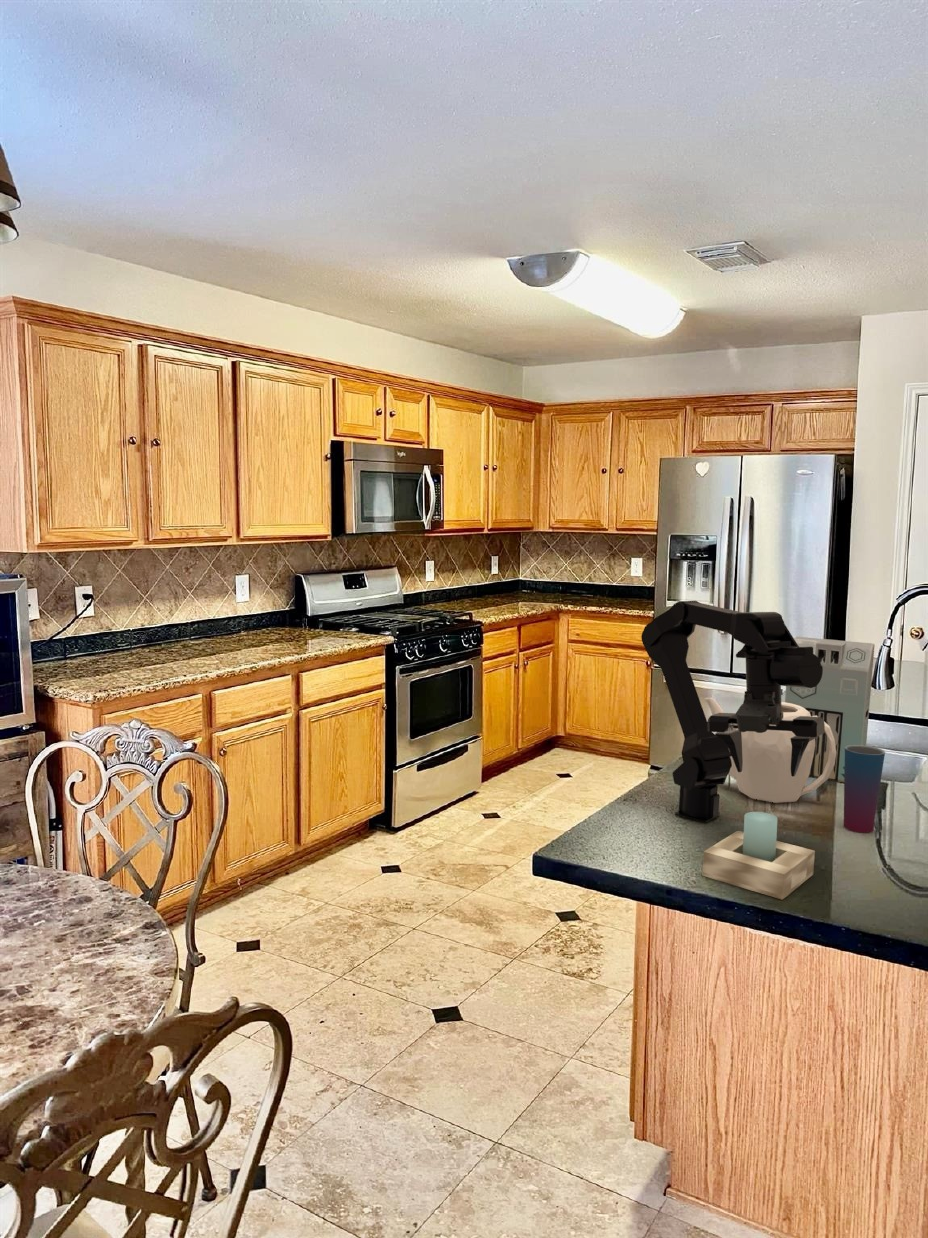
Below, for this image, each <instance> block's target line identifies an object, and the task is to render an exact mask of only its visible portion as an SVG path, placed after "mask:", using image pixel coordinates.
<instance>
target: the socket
mask: <svg viewBox="0 0 928 1238" xmlns="http://www.w3.org/2000/svg"><path fill="white" fill-rule="evenodd" d="M743 836H744V831H742V830H741V831H740V830H737V831H735V832H733V833H732V834H730V835H729V836H727V837H725V838H724V839H721V840H720V841H719V842H717V843H716V844H714V845H712V846H711V847H709V848H707V849H705V850H703V853H702V854H703V855H702V856H703V859H702V872H701V876H703V877H706V878H709V879H712V880H715V881H719V882H722V883H725V884H729V885H731V886H734V887H740V888H742V889H745V890H748V891H752V892H756V893H759V894H762V895H765V896H769V897H773V898H775V899H777V900H778V899H779V900H781V901H783V900H784V899H785V898H786V897H788V896H789V895H790V894H792V893H793V892H794V891H795V890H796V889H798V888H799V887H800V886H801V885H802V884H803V883H805V882H806V881H807V880H808V879H809V878H811V877H812V876H814V869H815V867H814V866H815V854H816V851H815V850H814V849H809V848H806V847H803V846H798V845H793V844H790V843H786V842H783V841H779V840H776V855H775V860H774V861H773V862H768V861H765V860H761V859H758V858H754V857H750V856H747V855H743Z"/></svg>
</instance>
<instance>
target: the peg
mask: <svg viewBox="0 0 928 1238" xmlns="http://www.w3.org/2000/svg"><path fill="white" fill-rule="evenodd" d="M743 819H744V821H743V822H744V823H743V832H744V836H743V855H747V856H750V857H754V858H758V859H761V860H765V861H768V862H773V861H774V860H775V855H776V841H777V835H778V832H777V831H778V817H777V816H776V815H774V814H771V813H768V812H762V811H749V812H746V813H744V817H743Z"/></svg>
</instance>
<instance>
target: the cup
mask: <svg viewBox="0 0 928 1238" xmlns="http://www.w3.org/2000/svg"><path fill="white" fill-rule="evenodd" d="M885 755H886V751H885V750H884V749H882V748H879V747H875V746H871V745H867V744H866V745H848V746H845V766H844V783H843V828H845V829H846V830H848V831H851V832H854V833H855V832H856V833H859V834H869V833H873V831H874V825H875V819H876V812H877V806H878V801H879V793H880V789H881V788H880V787H881V782H882V774H883V770H884V769H883V768H884V761H885Z"/></svg>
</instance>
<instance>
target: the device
mask: <svg viewBox="0 0 928 1238" xmlns="http://www.w3.org/2000/svg"><path fill="white" fill-rule="evenodd" d="M793 638H794V640H795V641H796V643H797V645H798V646H799V647H813V654H814V655H816V656H817V657H818V658H819V660H820V662H821V666H822V667H823V674H822V678H821V680H820V682H819V684H818V685H817V686H816V687H813V688H802V687H790V686H785V694H784V695H785V696H784V702H786V703H792V704H795V705H799V706H801V707H803V708H805V709H806V710H807V711H808V712H810V715H811V716H818V717H821V718H822V719H823V721H824V722H825V723H826V724H828V725H829V726H830V728H831V731H832V734H833V737H834V740H835V747H836V758H835V765H834V767H833V769H832V771H831V773H830V775H829V777H828V779H827V780H826V781H831V782H832V781H833V782H836V783H837V782H838V783H843V784H844V766H845V746H848V745H866V746H867V739H868V728H869V727H868V726H869V716H870V706H871V705H870V704H871V694H872V679H873V669H874V668H873V667H874V658H875V657H874V656H875V646H876V645H875V643H871V642H870V643H869V642H859V641H852V640H851V641H850V640H849V641H847V640H838V639H829V638H828V639H827V638H815V637H807V636H806V637H805V636H795V637H793ZM829 751H830V748H829V739H828V737H827V735H826V733H823V734H822V735H820V736H818V737H817V738H815V750H814V756H813V760H812V765H811V769H810V773H809V777H808V778H814V779H817V778H818V777H820V776H821V775H822V774H823V771H824V769H825V766H826V764H827V762H828V758H829Z"/></svg>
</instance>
